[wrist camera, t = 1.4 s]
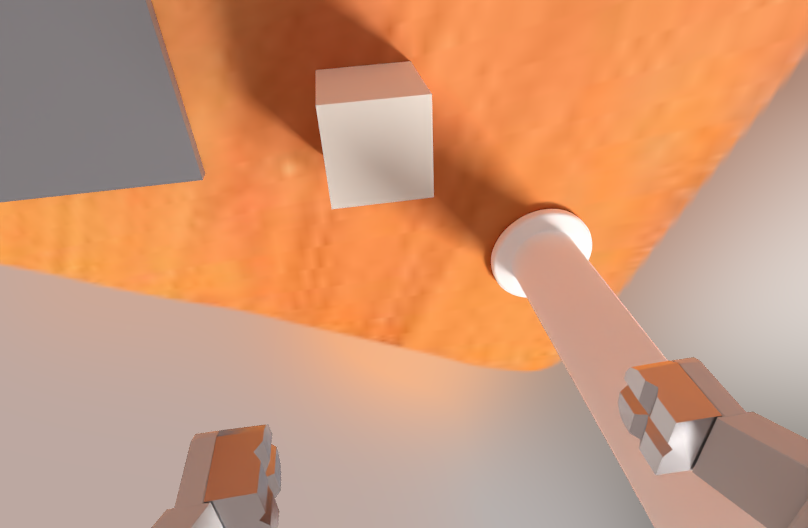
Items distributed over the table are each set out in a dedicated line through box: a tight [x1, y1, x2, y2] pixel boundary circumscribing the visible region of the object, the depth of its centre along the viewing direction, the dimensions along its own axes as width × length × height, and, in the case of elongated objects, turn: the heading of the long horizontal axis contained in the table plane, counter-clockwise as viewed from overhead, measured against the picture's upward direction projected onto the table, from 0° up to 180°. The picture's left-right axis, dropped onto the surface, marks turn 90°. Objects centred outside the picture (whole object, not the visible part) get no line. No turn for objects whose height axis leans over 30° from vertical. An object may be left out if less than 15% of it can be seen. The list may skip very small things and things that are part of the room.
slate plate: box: [0, 0, 205, 202], centre depth 24 cm, size 11×11×1 cm
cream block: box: [316, 61, 434, 209], centre depth 25 cm, size 5×5×6 cm
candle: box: [491, 209, 766, 528], centre depth 25 cm, size 7×7×25 cm
